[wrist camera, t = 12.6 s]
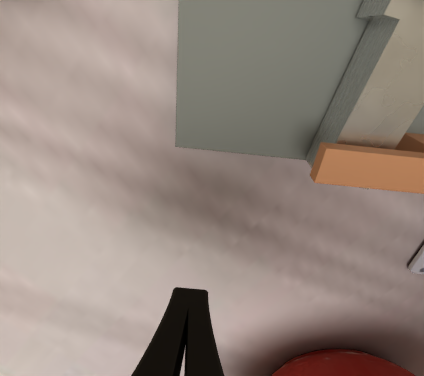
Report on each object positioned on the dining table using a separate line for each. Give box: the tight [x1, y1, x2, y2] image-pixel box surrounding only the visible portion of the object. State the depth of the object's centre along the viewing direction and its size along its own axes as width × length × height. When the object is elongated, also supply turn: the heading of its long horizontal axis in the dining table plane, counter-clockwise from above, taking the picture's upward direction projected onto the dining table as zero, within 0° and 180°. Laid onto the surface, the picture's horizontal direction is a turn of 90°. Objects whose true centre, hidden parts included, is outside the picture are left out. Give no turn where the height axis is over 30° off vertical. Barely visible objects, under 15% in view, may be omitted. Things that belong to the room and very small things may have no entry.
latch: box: [305, 0, 424, 189], centre depth 12 cm, size 12×4×2 cm, turn 167°
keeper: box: [310, 133, 424, 194], centre depth 14 cm, size 8×2×5 cm, turn 85°
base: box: [175, 0, 424, 160], centre depth 11 cm, size 15×13×6 cm
